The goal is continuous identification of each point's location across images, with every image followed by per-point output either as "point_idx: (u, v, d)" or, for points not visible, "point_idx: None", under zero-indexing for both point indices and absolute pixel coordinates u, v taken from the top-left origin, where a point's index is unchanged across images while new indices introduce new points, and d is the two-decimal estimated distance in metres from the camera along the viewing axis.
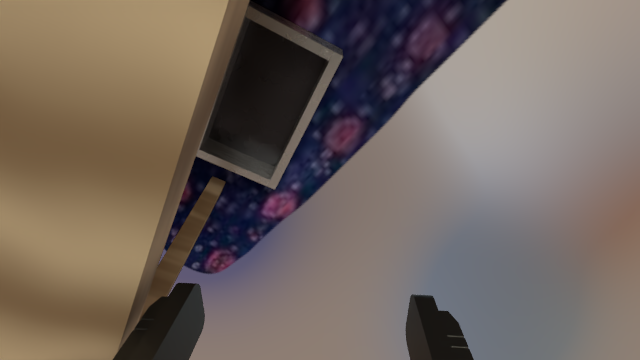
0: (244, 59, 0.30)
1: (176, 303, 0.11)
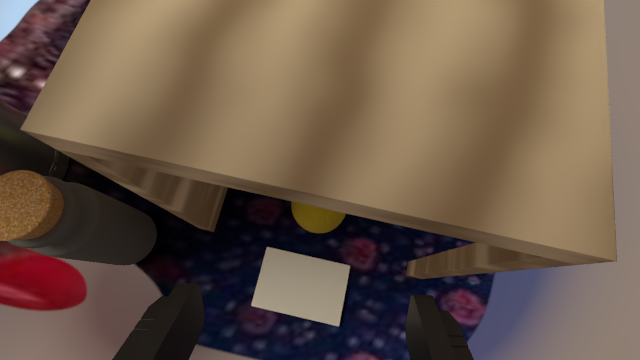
0: None
1: (176, 303, 0.11)
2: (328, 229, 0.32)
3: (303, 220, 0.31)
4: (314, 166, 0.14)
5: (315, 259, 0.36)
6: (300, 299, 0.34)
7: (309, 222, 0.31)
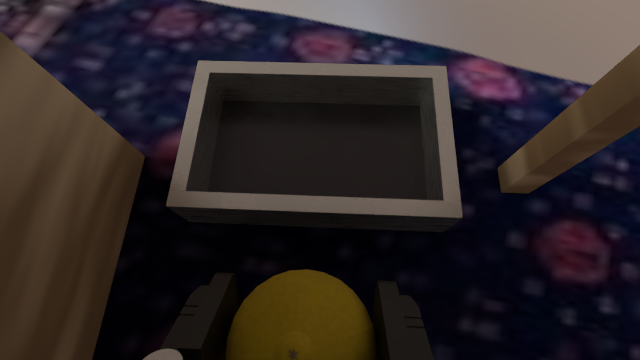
0: None
1: (218, 291, 0.12)
2: None
3: None
4: None
5: None
6: None
7: None
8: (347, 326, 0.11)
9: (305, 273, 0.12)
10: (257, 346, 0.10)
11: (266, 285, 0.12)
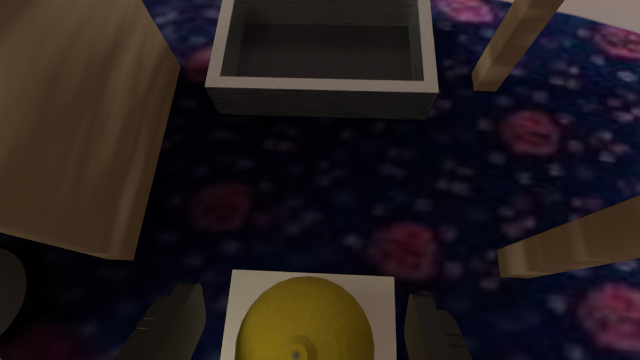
0: None
1: (178, 302, 0.11)
2: None
3: None
4: None
5: (326, 277, 0.19)
6: None
7: None
8: (346, 329, 0.11)
9: (307, 280, 0.13)
10: (263, 348, 0.11)
11: (271, 291, 0.13)
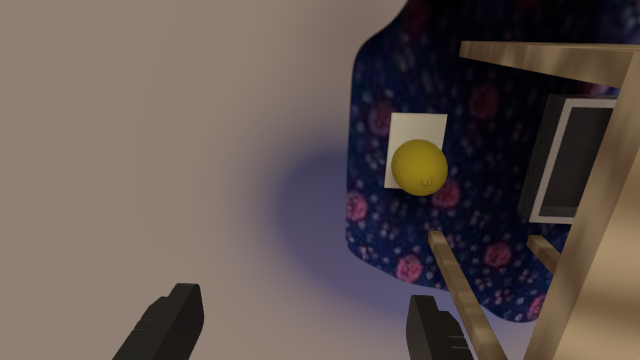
0: None
1: (176, 303, 0.11)
2: (395, 180, 0.36)
3: (401, 162, 0.34)
4: (598, 306, 0.17)
5: None
6: None
7: (399, 169, 0.34)
8: (430, 192, 0.33)
9: None
10: (428, 168, 0.32)
11: (444, 163, 0.33)
